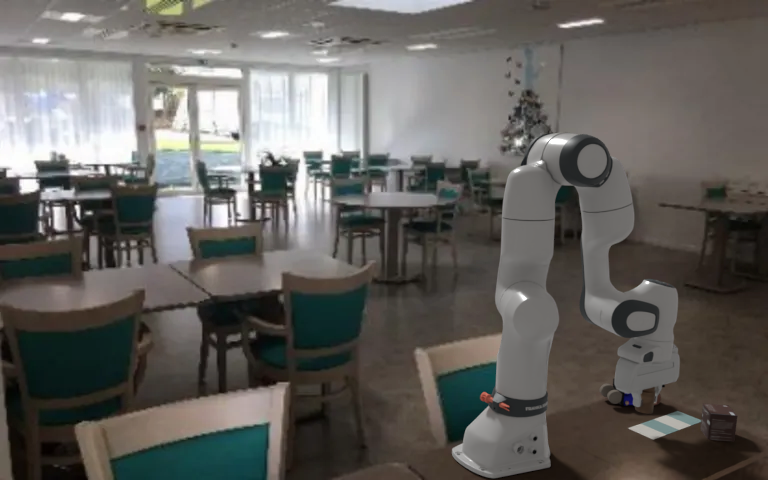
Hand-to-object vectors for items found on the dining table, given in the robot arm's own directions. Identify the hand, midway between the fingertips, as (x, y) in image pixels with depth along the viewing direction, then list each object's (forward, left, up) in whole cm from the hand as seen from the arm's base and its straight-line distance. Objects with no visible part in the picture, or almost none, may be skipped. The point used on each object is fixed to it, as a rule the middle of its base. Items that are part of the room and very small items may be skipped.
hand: (644, 404), depth 158 cm
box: (+14, -10, -8) cm, 19 cm away
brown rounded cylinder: (0, 0, -2) cm, 2 cm away
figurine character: (+12, +12, -8) cm, 19 cm away
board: (+8, -1, -8) cm, 11 cm away
